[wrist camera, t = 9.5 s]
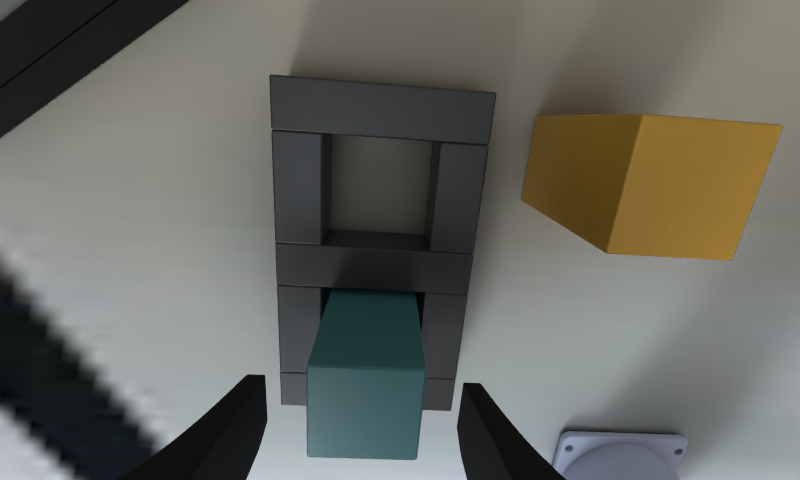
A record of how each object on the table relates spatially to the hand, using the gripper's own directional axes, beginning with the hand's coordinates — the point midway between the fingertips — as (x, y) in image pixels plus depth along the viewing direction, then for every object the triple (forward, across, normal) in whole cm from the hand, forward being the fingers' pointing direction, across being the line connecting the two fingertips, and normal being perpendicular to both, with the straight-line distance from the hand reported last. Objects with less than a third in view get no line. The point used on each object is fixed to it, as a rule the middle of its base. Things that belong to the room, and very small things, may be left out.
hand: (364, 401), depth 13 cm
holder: (+7, 0, -3) cm, 8 cm away
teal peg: (+7, 0, 0) cm, 7 cm away
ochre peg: (+7, -9, -8) cm, 14 cm away
